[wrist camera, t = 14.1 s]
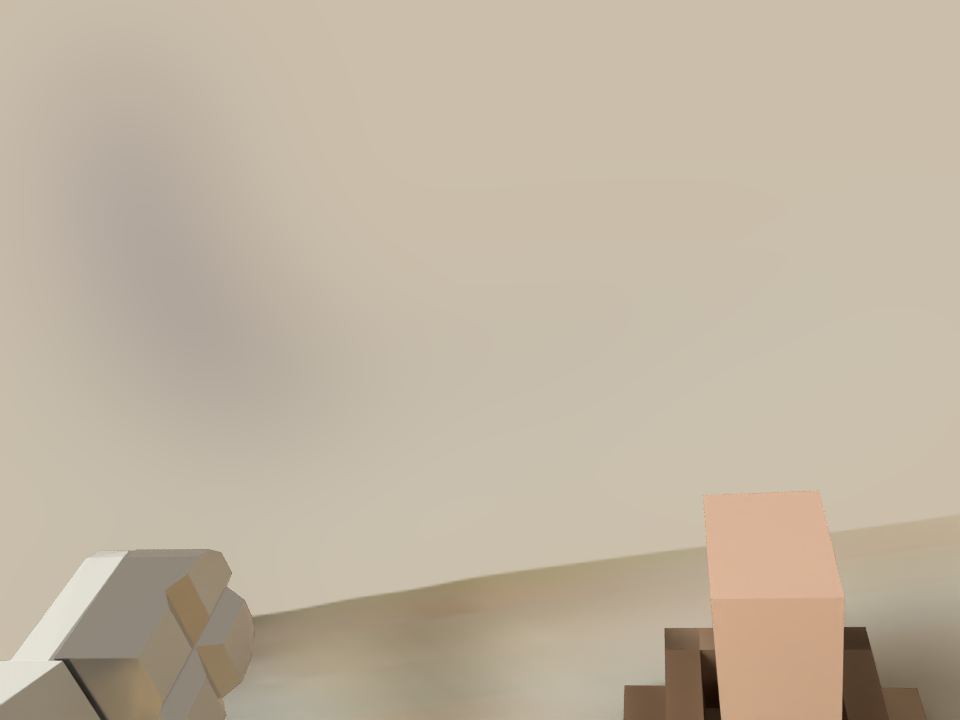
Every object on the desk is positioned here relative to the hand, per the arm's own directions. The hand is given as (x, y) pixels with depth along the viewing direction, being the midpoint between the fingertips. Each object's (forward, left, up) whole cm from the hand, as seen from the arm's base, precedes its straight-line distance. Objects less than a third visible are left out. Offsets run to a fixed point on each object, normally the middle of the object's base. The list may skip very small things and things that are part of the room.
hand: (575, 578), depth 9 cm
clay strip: (+3, +16, -29) cm, 33 cm away
